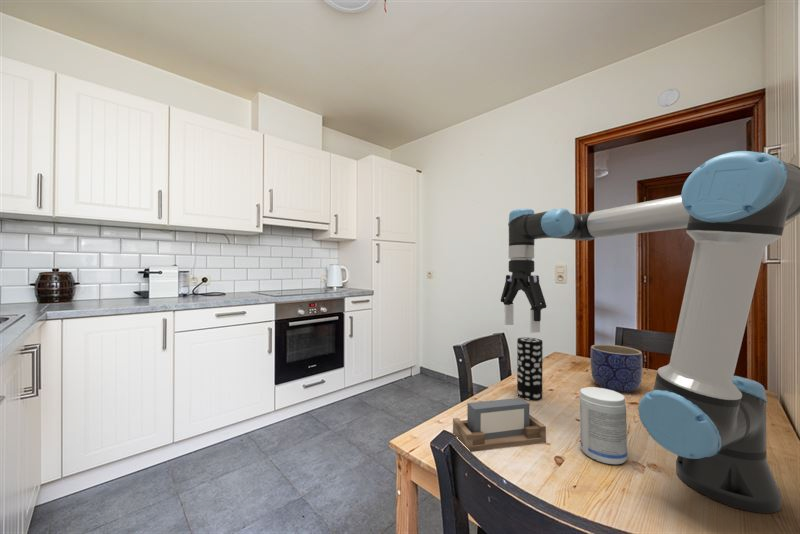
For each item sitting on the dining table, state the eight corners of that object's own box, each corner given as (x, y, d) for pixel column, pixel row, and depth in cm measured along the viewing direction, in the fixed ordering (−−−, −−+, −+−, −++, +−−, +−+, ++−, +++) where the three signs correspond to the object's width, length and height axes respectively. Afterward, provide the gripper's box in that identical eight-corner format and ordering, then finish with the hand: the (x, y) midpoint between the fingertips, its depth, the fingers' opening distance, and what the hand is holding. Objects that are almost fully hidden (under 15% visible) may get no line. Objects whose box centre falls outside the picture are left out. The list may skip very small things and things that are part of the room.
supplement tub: (637, 463, 74) (637, 399, 74) (603, 469, 71) (603, 403, 72) (602, 441, 83) (601, 385, 83) (570, 446, 81) (570, 387, 81)
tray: (545, 442, 82) (546, 426, 82) (466, 452, 78) (466, 434, 78) (525, 426, 91) (525, 411, 91) (452, 433, 86) (453, 418, 86)
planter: (654, 396, 114) (653, 354, 114) (607, 395, 114) (607, 354, 115) (622, 380, 131) (622, 344, 131) (582, 380, 131) (581, 343, 131)
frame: (529, 433, 84) (529, 403, 84) (474, 441, 80) (474, 409, 81) (520, 426, 88) (520, 397, 88) (467, 433, 84) (467, 403, 84)
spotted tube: (544, 395, 115) (544, 339, 115) (540, 402, 108) (540, 343, 108) (520, 390, 119) (520, 336, 120) (514, 397, 112) (515, 340, 112)
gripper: (560, 258, 88) (560, 335, 87) (509, 261, 112) (509, 321, 112) (536, 257, 86) (536, 336, 86) (490, 260, 110) (490, 322, 110)
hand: (521, 328), depth 99 cm, fingers open, 13 cm apart
